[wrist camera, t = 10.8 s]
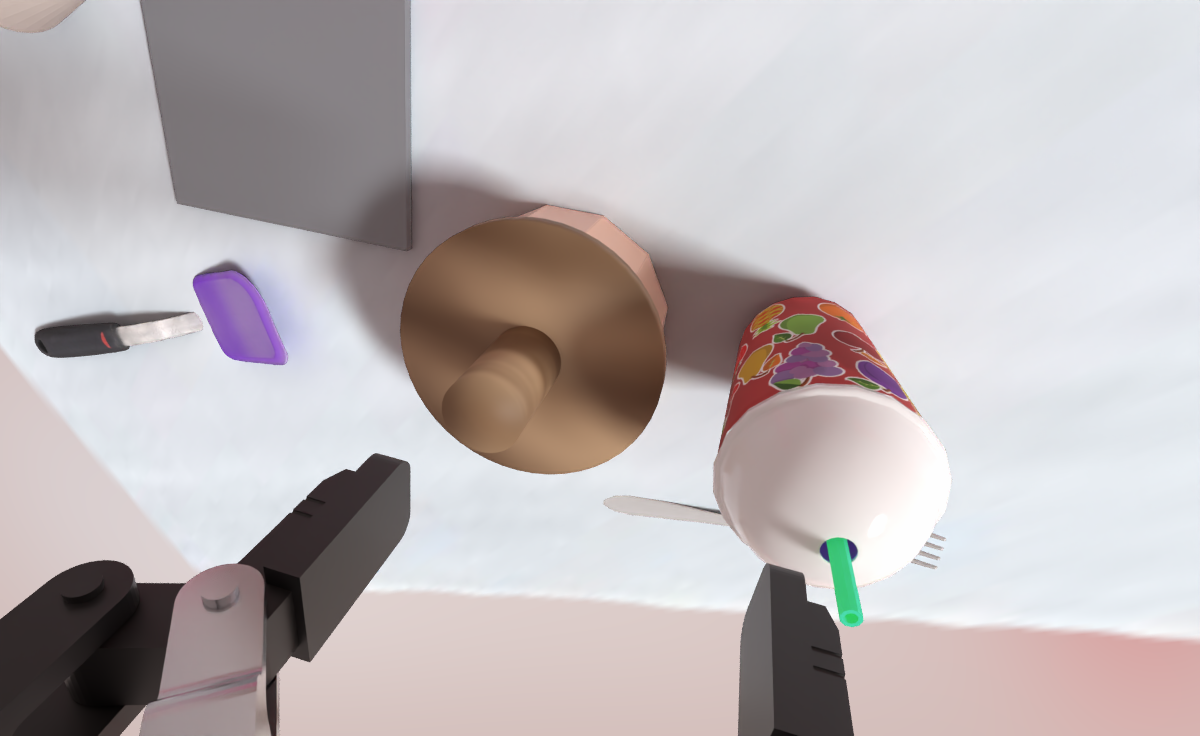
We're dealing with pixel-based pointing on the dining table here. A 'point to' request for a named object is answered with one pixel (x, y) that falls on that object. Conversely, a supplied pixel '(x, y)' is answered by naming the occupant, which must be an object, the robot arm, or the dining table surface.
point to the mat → (289, 111)
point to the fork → (701, 516)
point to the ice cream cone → (35, 14)
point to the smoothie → (826, 453)
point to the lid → (534, 345)
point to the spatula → (184, 325)
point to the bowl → (610, 246)
